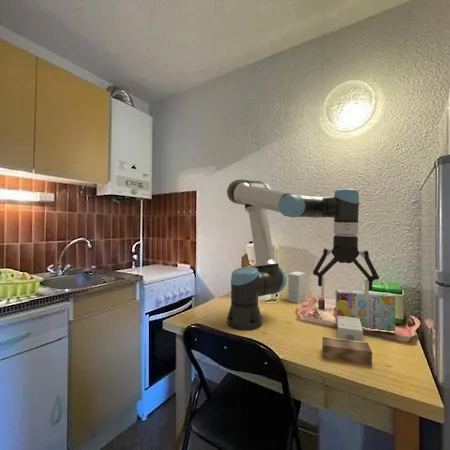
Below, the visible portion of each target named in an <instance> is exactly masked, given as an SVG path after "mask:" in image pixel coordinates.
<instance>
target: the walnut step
mask: <svg viewBox="0 0 450 450" xmlns="http://www.w3.org/2000/svg"><path fill="white" fill-rule="evenodd" d="M321 348H322V357H323V358H324V359H325V358H326V359H331V360H337V361H342V362H343V361H344V362H350V363H356V364H364V365H368V366H369V365H370V366H371V365H373V351H372V348H371V347H370V345H369V342H367V341H363V342H361V341H353V340H345V339H338V337H329V336H322V347H321Z"/></svg>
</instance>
